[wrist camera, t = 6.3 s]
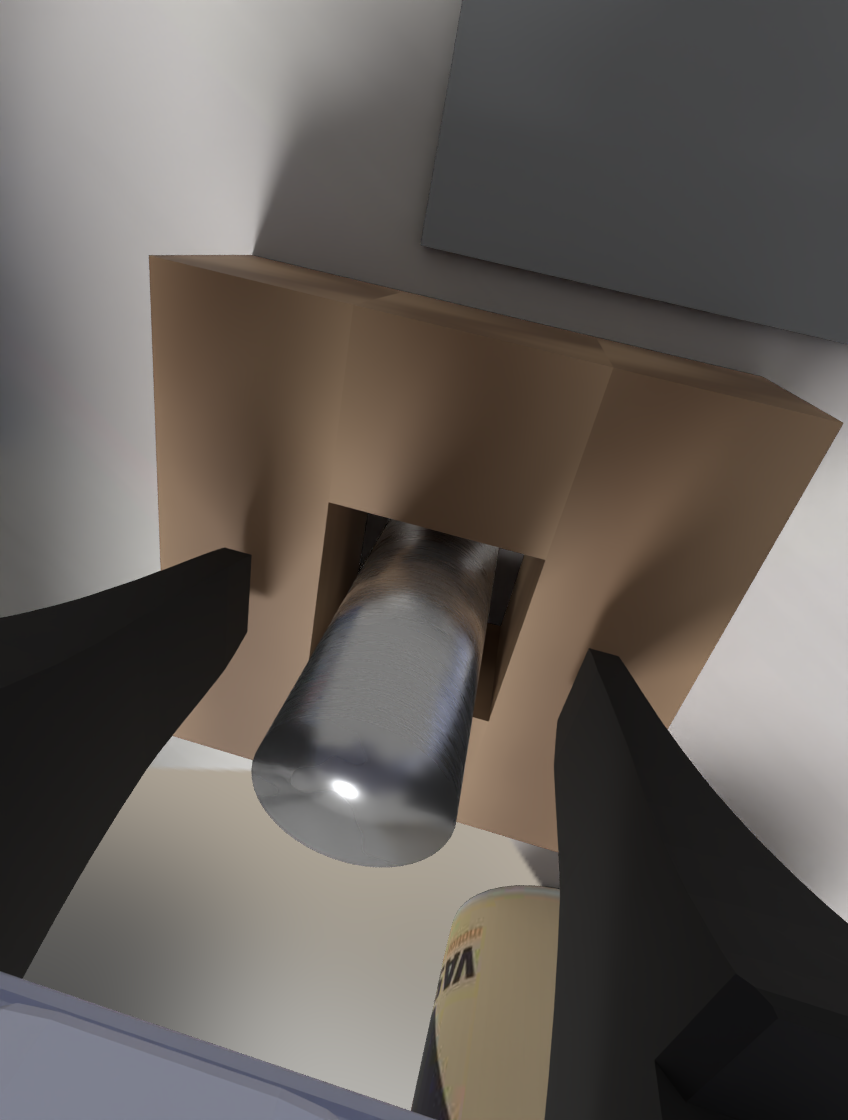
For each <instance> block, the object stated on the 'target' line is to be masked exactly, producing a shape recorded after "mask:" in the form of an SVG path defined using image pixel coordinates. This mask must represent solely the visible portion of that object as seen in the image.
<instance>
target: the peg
mask: <svg viewBox="0 0 848 1120" xmlns="http://www.w3.org/2000/svg"><path fill="white" fill-rule="evenodd" d="M498 551H499V547H495V546H491V545H488V544H484V543H480V542H476V541H473V540H469V539H465V538H461V537H458V536H454V535H450V534H446V533H443V532H439V531H435V530H431V529H428V528H424V527H420V526H416V525H413V524H409V523H405V522H401V521H398V520H394V519H390V520H389V522H388V524H387V525H386V527H385V529H384V531H383V532H382V534H381V536H380V538H379V539H378V541H377V543H376V544H375V546H374V548H373V550H372V551H371V553H370V555H369V557H368V558H367V560H366V562H365V564H364V565H363V567H362V569H361V571H360V572H359V574H358V576H357V577H356V579H355V581H354V583H353V584H352V586H351V588H350V590H349V591H348V593H347V595H346V597H345V598H344V600H343V602H342V603H341V605H340V607H339V609H338V610H337V612H336V614H335V616H334V617H333V619H332V621H331V623H330V624H329V626H328V628H327V630H326V631H325V633H324V635H323V636H322V638H321V640H320V642H319V643H318V645H317V647H316V649H315V650H314V652H313V654H312V656H311V657H310V659H309V661H308V662H307V664H306V666H305V668H304V669H303V671H302V673H301V675H300V676H299V678H298V680H297V682H296V683H295V685H294V687H293V689H292V690H291V692H290V694H289V695H288V697H287V699H286V701H285V702H284V704H283V706H282V708H281V709H280V711H279V713H278V715H277V716H276V718H275V720H274V721H273V723H272V725H271V727H270V728H269V730H268V732H267V734H266V735H265V737H264V739H263V741H262V742H261V744H260V746H259V748H258V749H257V751H256V753H255V756H254V759H253V762H252V781H253V786H254V790H255V792H256V795H257V797H258V799H259V801H260V803H261V805H262V806H263V808H264V809H265V811H266V812H267V813H268V815H269V816H270V817H271V818H272V819H273V821H274V822H275V823H276V824H277V825H279V827H280V828H282V829H283V830H284V831H285V832H286V833H287V834H289V835H290V836H291V837H293V838H294V839H295V840H297V841H298V842H300V843H302V844H303V845H305V846H306V847H308V848H310V849H312V850H314V851H316V852H318V853H320V854H323V855H325V856H327V857H330V858H333V859H336V860H339V861H342V862H346V863H350V864H355V865H361V866H369V867H396V866H403V865H408V864H413V863H415V862H418V861H421V860H423V859H426V858H428V857H430V856H432V855H433V854H435V853H436V852H437V851H439V850H440V849H441V848H442V847H443V846H444V845H445V844H446V843H447V841H448V840H449V839H450V837H451V835H452V833H453V831H454V829H455V825H456V820H457V815H458V808H459V802H460V795H461V789H462V782H463V776H464V770H465V763H466V757H467V750H468V744H469V737H470V731H471V725H472V718H473V712H474V705H475V699H476V693H477V686H478V680H479V673H480V667H481V660H482V654H483V648H484V641H485V635H486V628H487V622H488V616H489V609H490V603H491V596H492V590H493V583H494V577H495V571H496V564H497V558H498Z"/></svg>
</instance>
